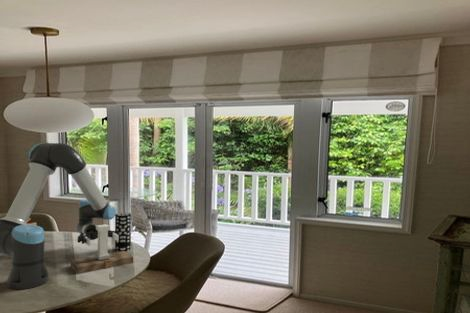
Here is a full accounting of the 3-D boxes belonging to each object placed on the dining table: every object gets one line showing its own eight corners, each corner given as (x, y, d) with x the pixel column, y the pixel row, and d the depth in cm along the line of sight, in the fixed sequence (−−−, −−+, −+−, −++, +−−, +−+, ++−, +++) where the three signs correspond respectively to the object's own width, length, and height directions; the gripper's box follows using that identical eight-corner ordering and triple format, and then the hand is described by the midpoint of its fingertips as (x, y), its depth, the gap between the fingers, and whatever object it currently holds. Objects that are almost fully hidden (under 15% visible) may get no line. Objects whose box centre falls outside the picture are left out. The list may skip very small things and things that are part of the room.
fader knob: (99, 260, 165) (99, 227, 165) (95, 256, 170) (95, 225, 170) (109, 258, 168) (110, 226, 168) (105, 255, 173) (105, 224, 173)
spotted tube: (111, 250, 192) (112, 214, 192) (123, 246, 200) (123, 212, 199) (122, 252, 188) (123, 216, 188) (133, 249, 196) (134, 213, 195)
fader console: (77, 274, 156) (77, 266, 156) (70, 266, 166) (70, 259, 166) (133, 262, 172) (133, 256, 172) (123, 256, 182) (124, 250, 182)
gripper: (114, 235, 193) (128, 243, 176) (65, 242, 177) (76, 252, 161) (114, 221, 193) (129, 229, 176) (65, 227, 177) (76, 236, 161)
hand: (104, 240), depth 168 cm, fingers open, 13 cm apart
